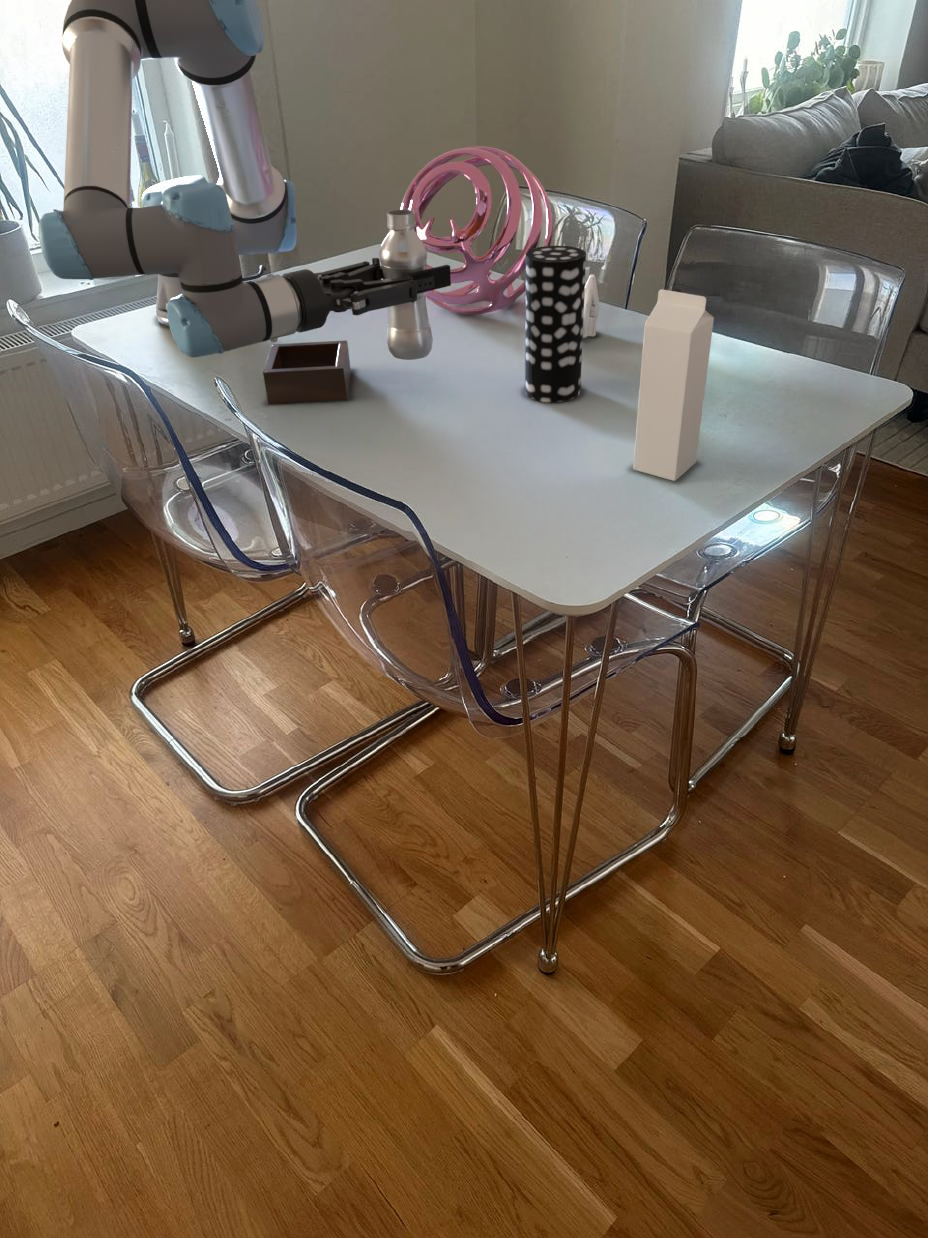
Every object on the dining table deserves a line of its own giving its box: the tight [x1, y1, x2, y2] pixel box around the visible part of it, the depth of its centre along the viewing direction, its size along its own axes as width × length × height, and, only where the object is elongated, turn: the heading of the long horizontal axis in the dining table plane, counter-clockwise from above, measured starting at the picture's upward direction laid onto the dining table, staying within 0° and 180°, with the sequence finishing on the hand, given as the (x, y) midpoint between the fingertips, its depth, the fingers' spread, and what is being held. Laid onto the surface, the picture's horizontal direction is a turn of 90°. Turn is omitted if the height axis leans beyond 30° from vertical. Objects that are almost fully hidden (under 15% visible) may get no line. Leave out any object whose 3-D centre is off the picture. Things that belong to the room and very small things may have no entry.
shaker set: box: [583, 273, 600, 339], centre depth 152 cm, size 12×4×11 cm, turn 133°
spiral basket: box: [399, 145, 554, 316], centre depth 165 cm, size 28×28×27 cm
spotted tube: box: [524, 245, 587, 403], centre depth 133 cm, size 8×8×20 cm
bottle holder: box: [262, 339, 351, 405], centre depth 142 cm, size 12×12×5 cm
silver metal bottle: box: [378, 208, 434, 361], centre depth 129 cm, size 6×7×20 cm
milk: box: [632, 288, 715, 482], centre depth 111 cm, size 6×6×22 cm
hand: (435, 269), depth 131 cm, fingers closed on silver metal bottle, 6 cm apart
